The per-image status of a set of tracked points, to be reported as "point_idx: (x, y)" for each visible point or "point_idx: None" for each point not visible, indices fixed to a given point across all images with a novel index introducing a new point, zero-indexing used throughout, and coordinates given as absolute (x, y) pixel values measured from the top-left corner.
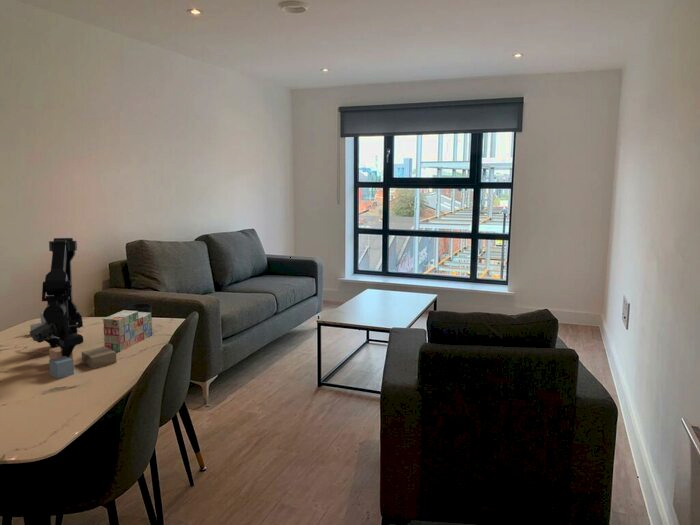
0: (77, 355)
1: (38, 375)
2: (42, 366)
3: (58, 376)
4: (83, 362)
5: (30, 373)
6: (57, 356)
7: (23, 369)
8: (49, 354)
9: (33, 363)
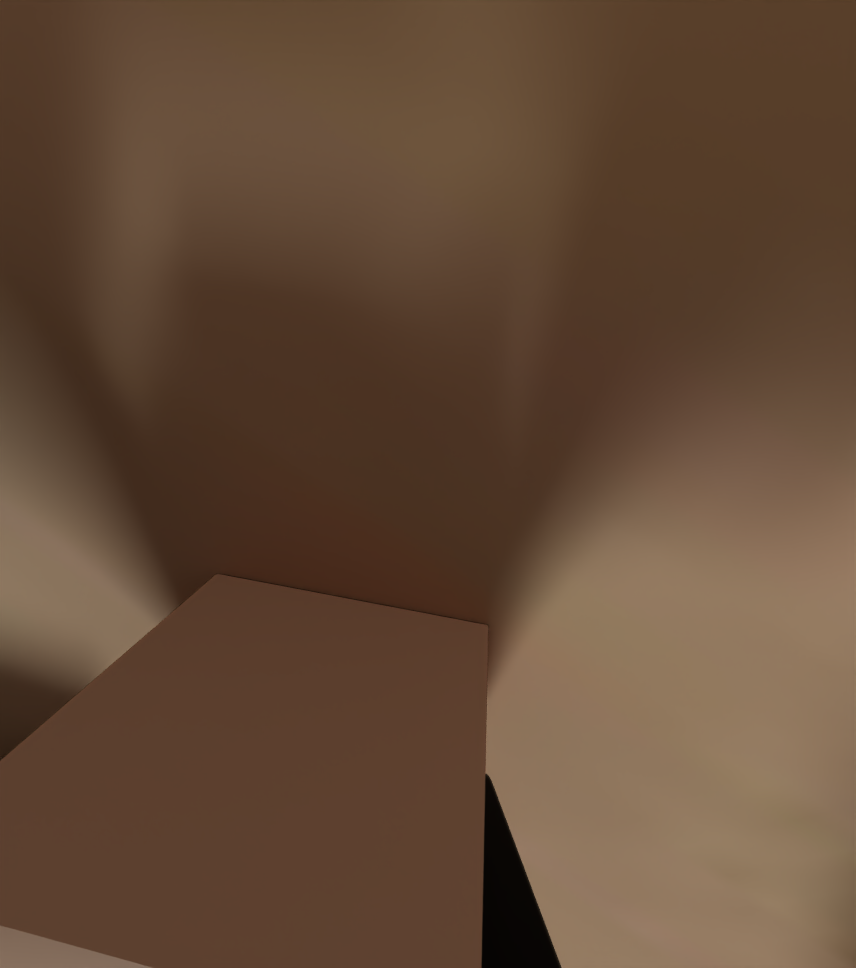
0: None
1: (14, 68)
2: (467, 462)
3: None
4: None
5: (266, 20)
6: (31, 740)
7: (695, 81)
8: (481, 799)
9: (823, 487)
